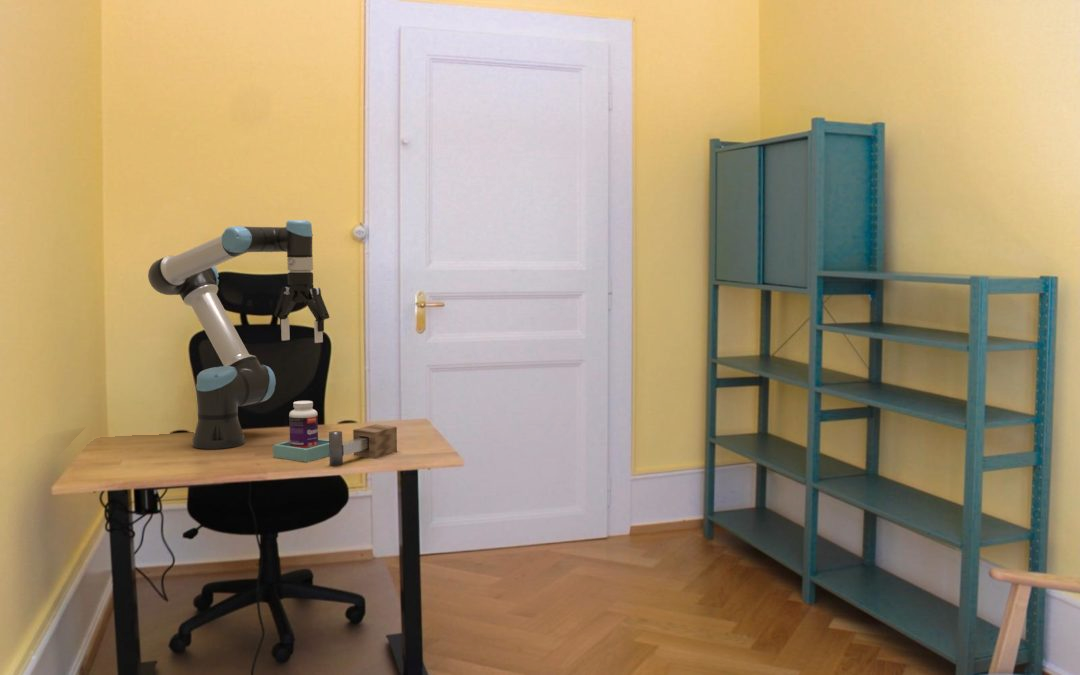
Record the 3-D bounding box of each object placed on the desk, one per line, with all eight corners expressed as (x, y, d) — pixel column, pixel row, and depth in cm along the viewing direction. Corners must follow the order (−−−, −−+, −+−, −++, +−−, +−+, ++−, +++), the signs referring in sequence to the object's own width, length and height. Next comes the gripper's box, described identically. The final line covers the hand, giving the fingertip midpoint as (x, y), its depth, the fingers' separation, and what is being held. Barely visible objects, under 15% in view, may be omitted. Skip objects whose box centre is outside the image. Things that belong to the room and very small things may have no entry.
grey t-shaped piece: (336, 466, 264) (336, 433, 264) (326, 464, 266) (326, 432, 265) (377, 454, 279) (376, 423, 279) (367, 452, 281) (367, 422, 280)
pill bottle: (311, 454, 275) (309, 404, 273) (285, 453, 276) (283, 404, 275) (323, 448, 283) (321, 400, 281) (297, 447, 284) (296, 399, 283)
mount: (375, 458, 275) (374, 432, 275) (353, 455, 279) (353, 429, 279) (397, 451, 284) (396, 426, 283) (375, 448, 288) (375, 424, 287)
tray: (273, 457, 277) (272, 444, 276) (305, 448, 288) (304, 437, 288) (306, 462, 270) (306, 449, 270) (338, 453, 282) (337, 441, 281)
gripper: (261, 271, 293) (263, 340, 295) (322, 272, 281) (324, 344, 283) (279, 270, 300) (281, 338, 302) (340, 271, 287) (341, 342, 289)
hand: (302, 341), depth 292 cm, fingers open, 13 cm apart
